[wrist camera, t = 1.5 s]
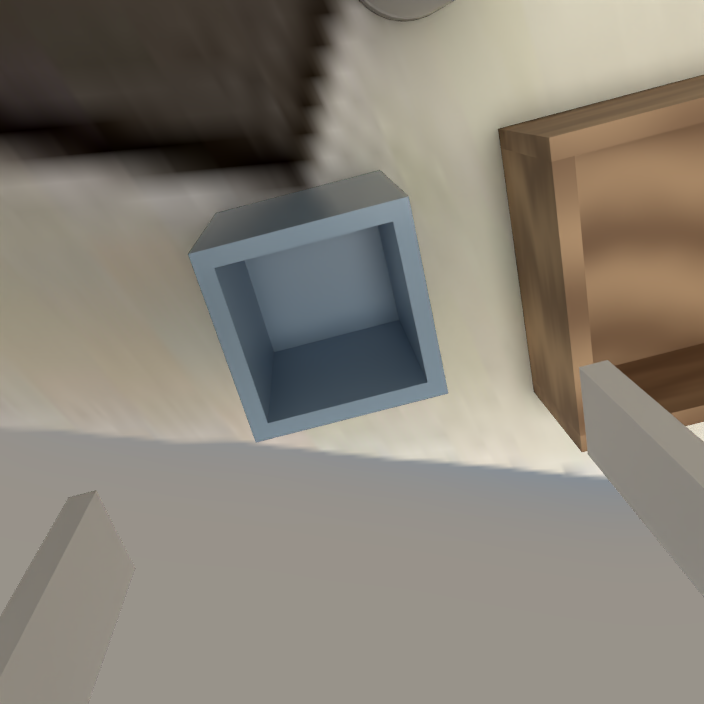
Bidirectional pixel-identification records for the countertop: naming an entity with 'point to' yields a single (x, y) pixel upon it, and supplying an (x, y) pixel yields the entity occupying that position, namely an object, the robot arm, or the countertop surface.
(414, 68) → the countertop surface
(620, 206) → the walnut crate
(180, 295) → the countertop surface
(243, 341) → the slate crate
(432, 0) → the travel mug
